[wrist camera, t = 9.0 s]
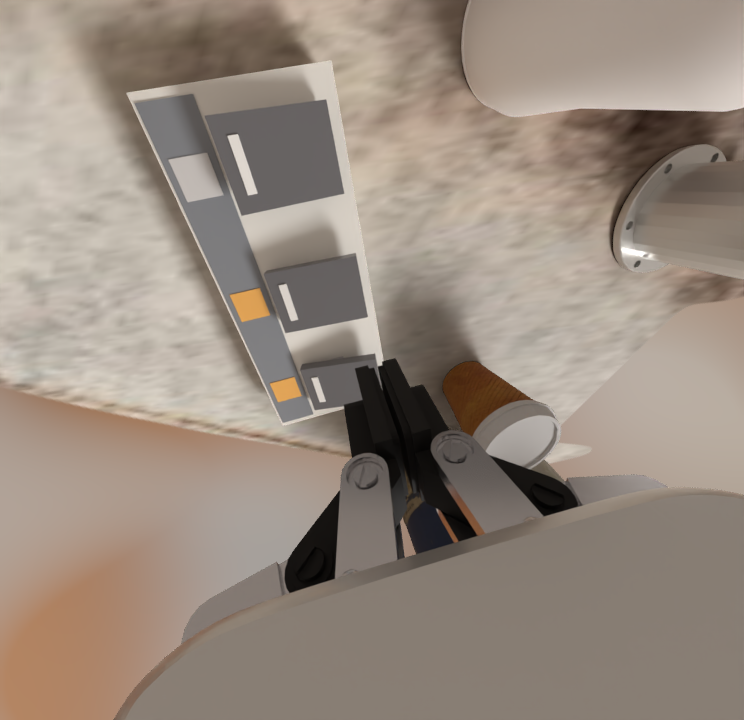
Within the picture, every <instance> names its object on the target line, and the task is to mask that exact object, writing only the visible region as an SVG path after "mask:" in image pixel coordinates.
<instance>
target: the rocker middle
mask: <svg viewBox="0 0 744 720" xmlns="http://www.w3.org/2000/svg"><path fill="white" fill-rule="evenodd" d="M264 277H265V280H266V282H267V285H268V288H269V290H270V293H271V296H272V298H273V301H274V304H275V306H276V309H277V312H278V315H279V317H280V320H281V323H282V325H283V328H284V331H285V333H290V332H295V331H300V330H305V329H310V328H316V327H321V326H326V325H331V324H336V323H341V322H346V321H351V320H357V319H362V318H367V317H368V314H367V309H366V304H365V299H364V294H363V288H362V283H361V278H360V273H359V267H358V262H357V257H356V253H353V254H348V255H343V256H338V257H332V258H327V259H322V260H317V261H312V262H307V263H302V264H297V265H292V266H287V267H282V268H277V269H272V270H267V271H266V272H265V273H264Z"/></svg>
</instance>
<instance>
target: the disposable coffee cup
mask: <svg viewBox="0 0 744 720" xmlns="http://www.w3.org/2000/svg"><path fill="white" fill-rule="evenodd" d="M443 392H444V394H445V396H446V398H447V400H448V402H449V404H450V406H451V408H452V410H453V412H454V414H455V417H456V418H457V421H458V422H459V424H460V427H461V429H462V431H463V432H465V433H467V434H469V435H470V436H472V437H473V438H474V439H475V440H476V441H477V442H478V443H479V444H480V446H481V447H482V448H483V449H484V450H485V451H486V452H487V453H488V455H491V456H494V457H497V458H500V459H502V460H505V461H508V462H511V463H514V464H516V465H519V466H522V467H525V468H528V469H531V468H533V467H535V466H536V465H538V464H539V463H540V462H542V461H543V460H544V459H545V458H546V457H547V456H548V455H549V454H550V453H551V452H552V451H553V450H554V448H555V447H556V445H557V444H558V441H559V439H560V436H561V426H560V423H559V422H558V420H557V419H556V415H555V413H554V411H553V410H552V409H551V408H550V407H549V406H548V405H546V404H543V403H540V402H537V401H535V400H533V399H530V397H528V396H526V395H525V394H524V393H522V392H521V391H519V390H518V389H516V388H515V387H513V386H512V385H510V384H509V383H507V382H506V381H505V380H502V378H500V377H499V376H497V375H496V374H494V373H492V372H491V371H490V370H488V369H487V368H486V367H484V366H483V365H481V364H480V363H478V362H474V361H469V362H464V363H461V364H459V365H457V366H456V367H454V368H453V369H452V370H451V371H450V372H449V373H448V374H447V375H446V377H445V379H444V381H443Z"/></svg>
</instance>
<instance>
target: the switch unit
mask: <svg viewBox="0 0 744 720" xmlns="http://www.w3.org/2000/svg"><path fill="white" fill-rule="evenodd" d="M126 94H127V96H128V98H129V100H130V102H131V104H132V106H133V108H134V111H135V113H136V115H137V117H138V119H139V121H140V123H141V126H142V128H143V130H144V132H145V134H146V136H147V138H148V140H149V143H150V145H151V147H152V149H153V151H154V153H155V155H156V157H157V160H158V162H159V164H160V166H161V168H162V170H163V172H164V175H165V177H166V179H167V181H168V183H169V185H170V187H171V189H172V192H173V194H174V196H175V198H176V200H177V202H178V204H179V206H180V209H181V211H182V213H183V215H184V217H185V219H186V221H187V223H188V226H189V228H190V230H191V232H192V234H193V236H194V238H195V241H196V243H197V245H198V247H199V249H200V251H201V253H202V255H203V258H204V260H205V262H206V264H207V266H208V268H209V270H210V272H211V275H212V277H213V279H214V281H215V283H216V285H217V287H218V289H219V292H220V294H221V296H222V298H223V300H224V302H225V304H226V307H227V309H228V311H229V313H230V315H231V317H232V319H233V321H234V324H235V326H236V328H237V330H238V332H239V334H240V336H241V338H242V341H243V343H244V345H245V347H246V349H247V351H248V353H249V356H250V358H251V360H252V362H253V364H254V366H255V368H256V370H257V373H258V375H259V377H260V379H261V381H262V383H263V385H264V387H265V390H266V392H267V394H268V396H269V398H270V400H271V402H272V404H273V407H274V409H275V411H276V413H277V415H278V417H279V419H280V422H281V424H282V426H285V425H289V424H292V423H296V422H299V421H303V420H306V419H310V418H313V417H317V416H320V415H324V414H328V413H331V412H335V411H338V410H342V409H344V406H343V407H335V408H328V409H320V410H314V407H313V404H312V401H311V399H310V396H309V393H308V391H307V388H306V385H305V382H304V380H303V377H302V374H301V372H300V369H301V366H302V364H306V363H313V362H320V361H327V360H333V359H340V358H347V357H354V356H361V355H368V354H374V353H375V355H376V360H377V365H378V366H381V365H382V361H384V360H383V354H382V348H381V342H380V337H379V331H378V325H377V319H376V314H375V308H374V302H373V297H372V291H371V285H370V279H369V274H368V268H367V262H366V256H365V251H364V245H363V239H362V233H361V228H360V222H359V216H358V211H357V205H356V199H355V193H354V188H353V182H352V176H351V170H350V165H349V159H348V153H347V148H346V142H345V136H344V130H343V125H342V119H341V113H340V107H339V102H338V96H337V90H336V84H335V79H334V73H333V67H332V62H331V60H330V61H323V62H317V63H311V64H304V65H298V66H292V67H285V68H279V69H273V70H267V71H260V72H254V73H248V74H241V75H235V76H229V77H222V78H216V79H210V80H203V81H197V82H191V83H185V84H178V85H172V86H166V87H159V88H153V89H147V90H140V91H134V92H128V93H126ZM325 99H326V100H327V106H328V111H329V116H330V121H331V127H332V132H333V137H334V142H335V147H336V153H337V158H338V163H339V168H340V174H341V179H342V184H343V189H344V194H341V195H336V196H332V197H327V198H322V199H318V200H313V201H308V202H304V203H299V204H294V205H290V206H285V207H280V208H276V209H271V210H266V211H262V212H257V213H253V214H248V215H243V216H241V213H240V210H239V208H238V205H237V202H236V200H235V197H234V194H233V191H232V189H231V186H230V183H229V181H228V178H227V175H226V173H225V170H224V167H223V165H222V162H221V159H220V157H219V154H218V151H217V148H216V146H215V143H214V140H213V138H212V135H211V132H210V130H209V127H208V124H207V122H206V119H205V116H206V115H213V114H220V113H228V112H235V111H243V110H250V109H258V108H265V107H273V106H280V105H288V104H295V103H303V102H310V101H318V100H325ZM353 253H356V257H357V262H358V267H359V273H360V278H361V283H362V288H363V294H364V299H365V304H366V309H367V314H368V317H367V318H362V319H357V320H351V321H346V322H341V323H336V324H331V325H326V326H321V327H316V328H310V329H305V330H300V331H295V332H290V333H285V331H284V328H283V325H282V323H281V320H280V317H279V315H278V312H277V309H276V306H275V304H274V301H273V298H272V296H271V293H270V290H269V288H268V285H267V282H266V280H265V277H264V273H265V272H266V271H267V270H272V269H277V268H282V267H287V266H292V265H297V264H302V263H307V262H312V261H317V260H322V259H327V258H332V257H338V256H343V255H348V254H353Z"/></svg>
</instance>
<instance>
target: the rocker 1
mask: <svg viewBox="0 0 744 720" xmlns="http://www.w3.org/2000/svg"><path fill="white" fill-rule="evenodd" d="M205 119H206V122H207V124H208V127H209V130H210V132H211V135H212V138H213V140H214V143H215V146H216V148H217V151H218V154H219V157H220V159H221V162H222V165H223V167H224V170H225V173H226V175H227V178H228V181H229V183H230V186H231V189H232V191H233V194H234V197H235V200H236V202H237V205H238V208H239V210H240V213H241V216H243V215H248V214H253V213H257V212H262V211H266V210H271V209H276V208H280V207H285V206H290V205H294V204H299V203H304V202H308V201H313V200H318V199H322V198H327V197H332V196H336V195H341V194H344V189H343V184H342V179H341V174H340V168H339V163H338V158H337V153H336V147H335V142H334V137H333V132H332V127H331V121H330V116H329V111H328V106H327V100H326V99H325V100H318V101H310V102H303V103H295V104H288V105H280V106H273V107H265V108H258V109H250V110H243V111H235V112H228V113H220V114H213V115H206V116H205Z"/></svg>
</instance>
